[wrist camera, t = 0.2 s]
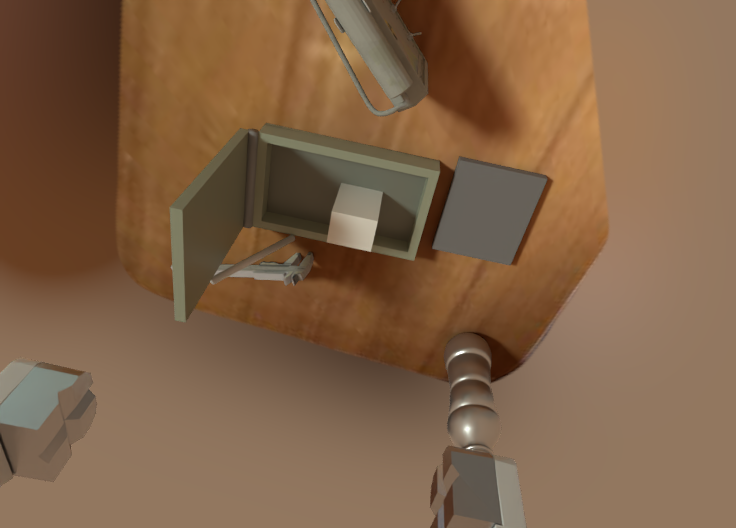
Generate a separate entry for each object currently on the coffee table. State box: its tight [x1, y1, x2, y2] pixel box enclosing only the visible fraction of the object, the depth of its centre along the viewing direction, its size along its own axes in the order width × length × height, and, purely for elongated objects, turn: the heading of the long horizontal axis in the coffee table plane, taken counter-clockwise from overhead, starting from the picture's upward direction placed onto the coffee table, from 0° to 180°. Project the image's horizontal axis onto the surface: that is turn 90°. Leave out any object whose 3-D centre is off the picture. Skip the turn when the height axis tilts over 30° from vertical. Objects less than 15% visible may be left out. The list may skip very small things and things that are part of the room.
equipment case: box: [170, 123, 440, 322], centre depth 52 cm, size 13×22×21 cm, turn 79°
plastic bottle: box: [444, 333, 501, 455], centre depth 64 cm, size 6×7×20 cm
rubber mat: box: [432, 156, 547, 265], centre depth 60 cm, size 12×10×1 cm
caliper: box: [171, 252, 314, 286], centre depth 66 cm, size 20×1×6 cm, turn 100°
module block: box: [327, 183, 383, 252], centre depth 58 cm, size 4×5×7 cm
